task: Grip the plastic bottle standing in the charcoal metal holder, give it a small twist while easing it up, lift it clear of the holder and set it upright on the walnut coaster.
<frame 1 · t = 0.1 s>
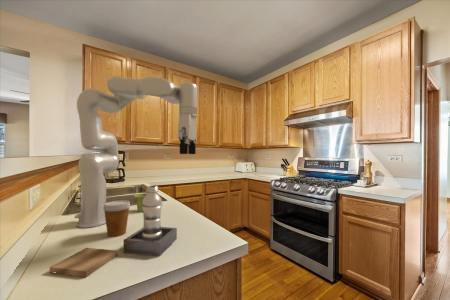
hand: (188, 154, 82), 31 cm above the countertop, tool pointing down, fingers open, 9 cm apart
walnut coaster: (86, 263, 56), on the countertop
plant pot: (143, 211, 109), on the countertop
disposable coffee cup: (116, 234, 77), on the countertop
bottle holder: (152, 245, 67), on the countertop
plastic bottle: (152, 246, 67), resting in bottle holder
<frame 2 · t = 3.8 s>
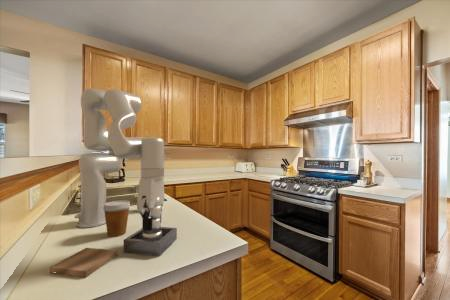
hand: (152, 226, 67), 6 cm above the countertop, tool pointing down, fingers closed on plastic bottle, 5 cm apart
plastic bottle: (152, 245, 67), resting in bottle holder, touching gripper
everything else where it was.
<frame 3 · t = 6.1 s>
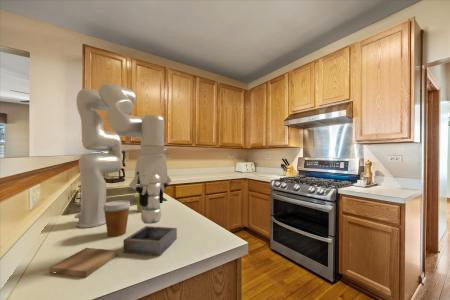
hand: (151, 203, 68), 14 cm above the countertop, tool pointing down, fingers closed on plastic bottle, 5 cm apart
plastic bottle: (151, 223, 68), point 7 cm above the countertop, touching gripper
everything else where it was.
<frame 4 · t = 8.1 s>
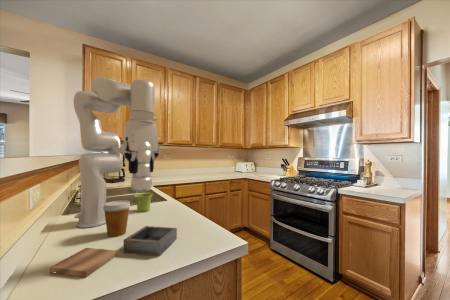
hand: (141, 172, 66), 25 cm above the countertop, tool pointing down, fingers closed on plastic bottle, 5 cm apart
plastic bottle: (141, 192, 66), point 18 cm above the countertop, touching gripper
everything else where it was.
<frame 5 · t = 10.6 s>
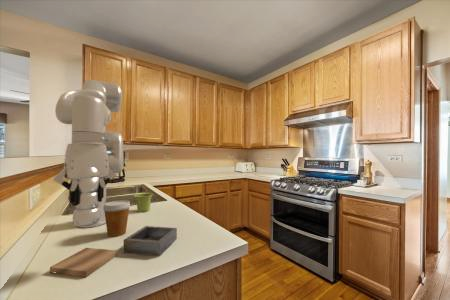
hand: (87, 202, 56), 17 cm above the countertop, tool pointing down, fingers closed on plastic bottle, 5 cm apart
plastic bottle: (86, 225, 56), point 11 cm above the countertop, touching gripper
everything else where it was.
when the fingers open (9 cm above the countertop, at t = 12.5 s): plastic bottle stays where it is, resting on walnut coaster.
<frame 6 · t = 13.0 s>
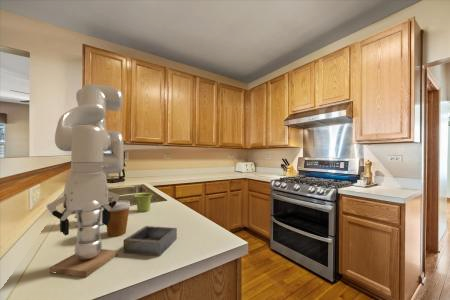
hand: (86, 228, 56), 10 cm above the countertop, tool pointing down, fingers open, 9 cm apart
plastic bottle: (88, 257, 57), point 1 cm above the countertop, touching walnut coaster
everything else where it was.
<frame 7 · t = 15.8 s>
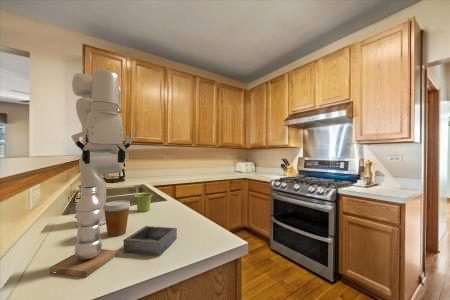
hand: (104, 163, 64), 28 cm above the countertop, tool pointing down, fingers open, 9 cm apart
nothing on the countertop moved.
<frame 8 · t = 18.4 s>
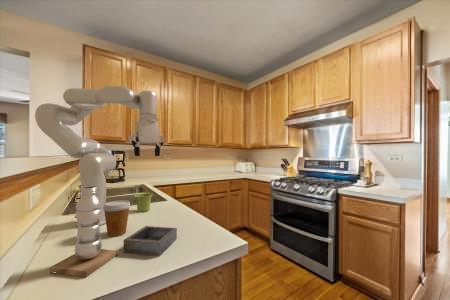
hand: (147, 156, 90), 30 cm above the countertop, tool pointing down, fingers open, 9 cm apart
nothing on the countertop moved.
at the end: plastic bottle inside the target area on the walnut coaster (0.6 cm from its centre), point 1.3 cm above the walnut coaster's base; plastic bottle tilted 0°; the gripper is holding nothing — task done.
